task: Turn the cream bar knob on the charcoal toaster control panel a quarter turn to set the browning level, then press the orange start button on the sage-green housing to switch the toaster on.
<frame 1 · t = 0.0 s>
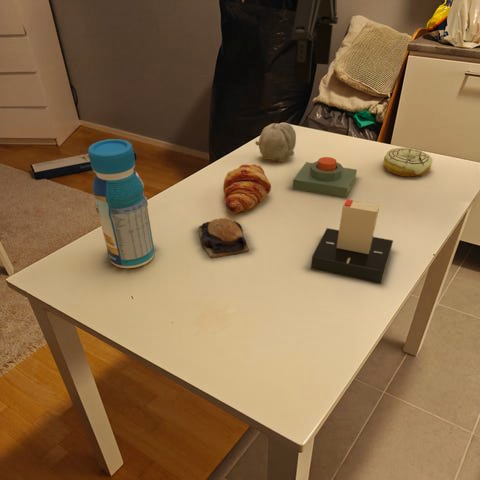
hand: (312, 72, 86), 24 cm above the table, tool pointing down, fingers open, 13 cm apart
beverage bottle: (132, 257, 83), on the table
start button: (326, 164, 101), point 4 cm above the table, slide at 0.1 cm
grey rounded lump: (274, 159, 115), on the table
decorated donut: (405, 170, 109), on the table
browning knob: (357, 227, 77), point 7 cm above the table, hinge at 0.0°
chocolate dessert: (222, 240, 87), on the table
croissant: (247, 197, 100), on the table
dial panel: (351, 260, 81), on the table
button housing: (324, 183, 104), on the table
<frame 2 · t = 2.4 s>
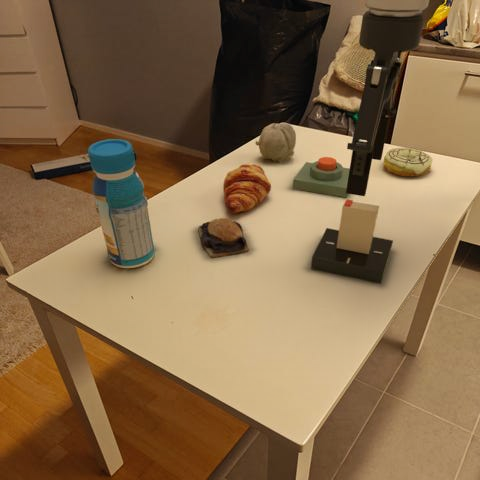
hand: (364, 175, 71), 16 cm above the table, tool pointing down, fingers open, 13 cm apart
nothing on the table moved.
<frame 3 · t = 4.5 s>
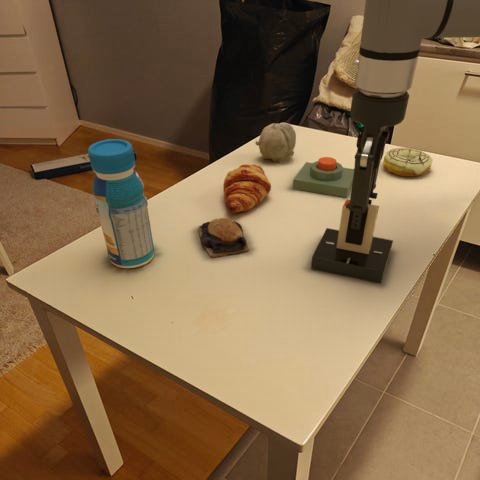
hand: (355, 238, 78), 4 cm above the table, tool pointing down, fingers closed on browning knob, 2 cm apart
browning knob: (357, 227, 77), point 7 cm above the table, hinge at 0.0°, touching gripper
everything else where it was.
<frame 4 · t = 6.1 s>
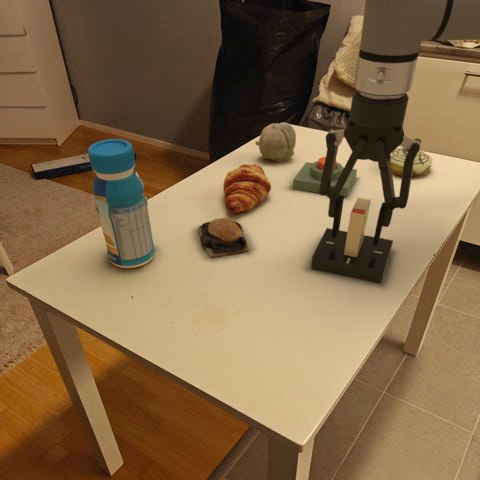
hand: (355, 237, 78), 5 cm above the table, tool pointing down, fingers open, 6 cm apart
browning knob: (357, 227, 77), point 7 cm above the table, hinge at 90.0°
everything else where it was.
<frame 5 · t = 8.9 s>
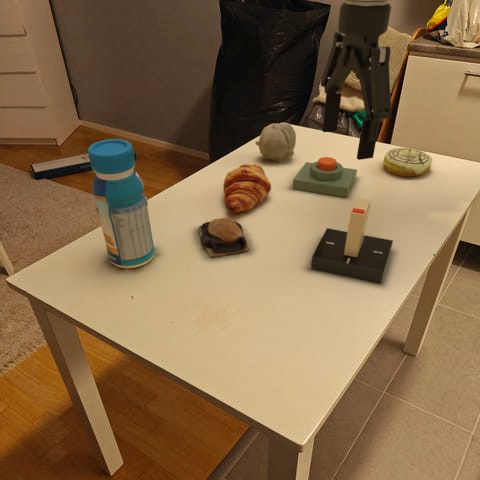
hand: (346, 143, 83), 15 cm above the table, tool pointing down, fingers open, 13 cm apart
nothing on the table moved.
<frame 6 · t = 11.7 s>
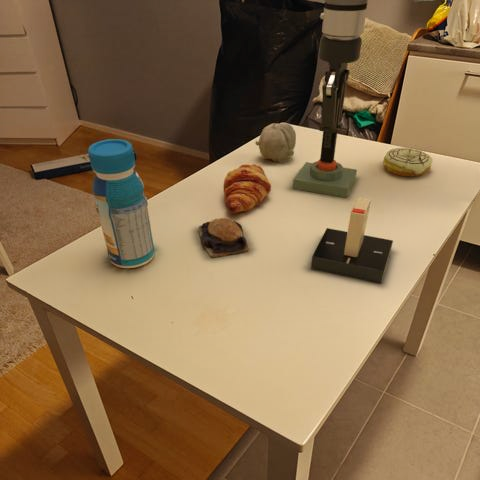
hand: (326, 160, 100), 5 cm above the table, tool pointing down, fingers closed
start button: (326, 165, 101), point 4 cm above the table, slide at -0.1 cm, touching gripper
everything else where it was.
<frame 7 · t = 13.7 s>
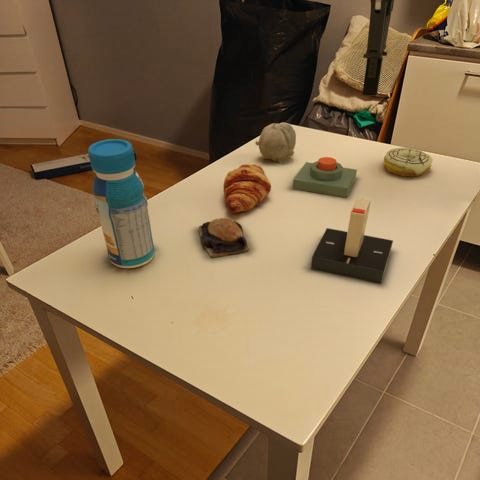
hand: (369, 94, 92), 19 cm above the table, tool pointing down, fingers closed
start button: (326, 164, 101), point 4 cm above the table, slide at 0.1 cm
everything else where it was.
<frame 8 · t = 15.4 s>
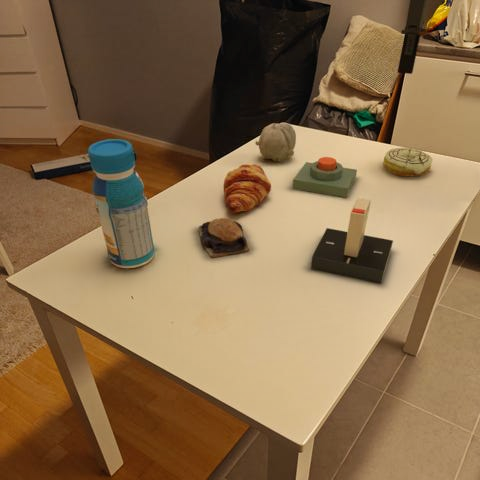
hand: (405, 72, 90), 22 cm above the table, tool pointing down, fingers closed
nothing on the table moved.
at the end: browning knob at +90° (first picture: +0°); start button pushed in 1.0 cm at the most during the clip, back to where it started at the end; start button slide at 0.1 cm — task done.
